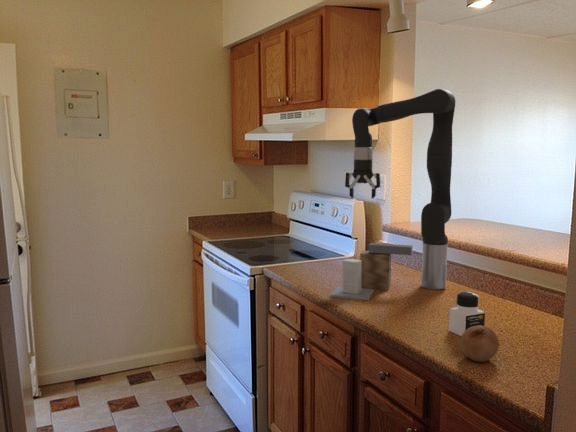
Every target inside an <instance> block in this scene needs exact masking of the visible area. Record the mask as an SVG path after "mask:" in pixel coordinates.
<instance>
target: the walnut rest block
mask: <svg viewBox="0 0 576 432" xmlns="http://www.w3.org/2000/svg"><path fill="white" fill-rule="evenodd" d="M359 260H361V261H362V265H361V288H363V289H374V290H376V291H377V290H378V291H379V290H380V291H390V288H391V285H392V284H391V278H392V276H391V266H392V254H384V253H369V250H362V251H361V253H360V255H359Z"/></svg>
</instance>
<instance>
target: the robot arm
mask: <svg viewBox="0 0 576 432" xmlns="http://www.w3.org/2000/svg"><path fill="white" fill-rule="evenodd" d="M455 109H456V97H455V95H454V94H453V93H452V92H451V91H449V90H447V89H444V88H437V89H433V90H431V91H428V92H426V93H424V94H422V95H419V96H415V97H413V98H407V99H405V100H400V101H394V102H389V103H384V104H380V105H378V106H377V107H374V108H373V107H372V108H366V109H365V108H358V109H356V110H355V111H354V112H353V115H352V120H351V121H352V128H353V129H352V130H353V134H354V151H353V172H346V173H345V183H344V186H345V188H348V190H349V197H350V198H351V199H353V198H355V197H354V194H355V193H354V189H355V188H354V187H355V186H356V185H357V184H368V185H369V186H370V187H371V199H375V197H376V196H377V192H376V190H377V189H378V188H381V173H380V172H377V173H376V172H374V173H373V135H372V134H371V133H370V129H369V127H373V126H376V125H379V124H383V123H389V122H394V121H399V120H401V119H405V118H408V117H410V116H414V115H421V114H432V123H433V125H432V132H431V135H430V139H429V141H428V145H427V150H426V151H427V152H426V171H427V175H428V179H429V182H430V186H431V197H430V202H429V203H427V204H426V205H424V207H423V208H422V210H421V217H420V218H421V219H420V227H421V228H420V232H421V237H422V253H421V254H422V255H421V256H422V259H421V285H420V286H421V287H422V288H424V289H428V290H446V289H447V271H448V270H447V269H448V267H447V266H448V261H447V260H448V242H449V241H448V240H449V239H448V236H447V234H446V231H445V230H446V229H445V226H446V225H445V224H447V223H448V222H449V221H450V219H451V218H452V202H451V201H452V199H451V182H452V168H453V167H452V166H453V165H452V163H453V123H454V115H455ZM352 177H353V181H352V183H351V184H350V178H352ZM373 177H374V179H375V180H376V181H375V183H374V181H373V180H372V178H373ZM375 184H376V185H375Z"/></svg>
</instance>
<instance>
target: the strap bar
mask: <svg viewBox="0 0 576 432" xmlns="http://www.w3.org/2000/svg"><path fill="white" fill-rule="evenodd" d="M413 247H414V246H413V244H411V245H409V244H396V243H395V244H393V243H377V242H370V243H369V244H368V251H369V253H384V254H391V255H400V256H401V255H402V256H403V255H405V256H412V255H413V251H414V250H413Z"/></svg>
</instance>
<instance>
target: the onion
mask: <svg viewBox="0 0 576 432" xmlns="http://www.w3.org/2000/svg"><path fill="white" fill-rule="evenodd" d="M459 344H460V348H461V350H462V352H463V355H464V356H465V357H467V358H468V359H470V360H472V361H474V362H479V363H484V362H487V361H489V360H491V359H492V358H493V357H495V356H496V354H497V353H498V350H499V347H500V340H499V337H498V336H497V334H496V332H495V331H494V330H493V329H492V328H490V327H488V326H485V325H484V326H481V325H477V326H471V327H470V328H468V329H467V330H465V331H464V333H463V334H462V336H460V343H459Z"/></svg>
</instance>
